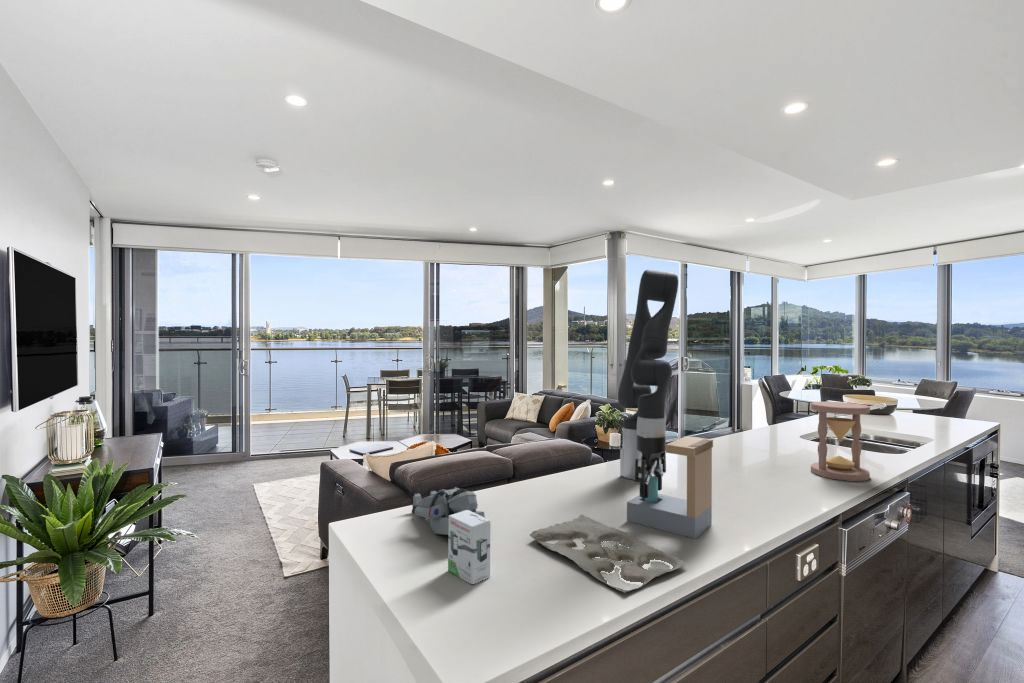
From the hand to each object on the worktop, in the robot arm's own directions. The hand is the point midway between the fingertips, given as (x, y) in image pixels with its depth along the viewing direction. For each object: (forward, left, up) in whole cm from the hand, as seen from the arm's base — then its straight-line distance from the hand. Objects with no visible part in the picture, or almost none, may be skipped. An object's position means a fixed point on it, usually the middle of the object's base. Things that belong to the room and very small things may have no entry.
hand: (650, 493), depth 132 cm
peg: (0, 0, -7) cm, 7 cm away
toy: (-38, -40, -7) cm, 56 cm away
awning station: (+5, 0, -7) cm, 8 cm away
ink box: (-15, -54, -7) cm, 56 cm away
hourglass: (+33, +84, -7) cm, 91 cm away
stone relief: (+1, -28, -7) cm, 29 cm away
